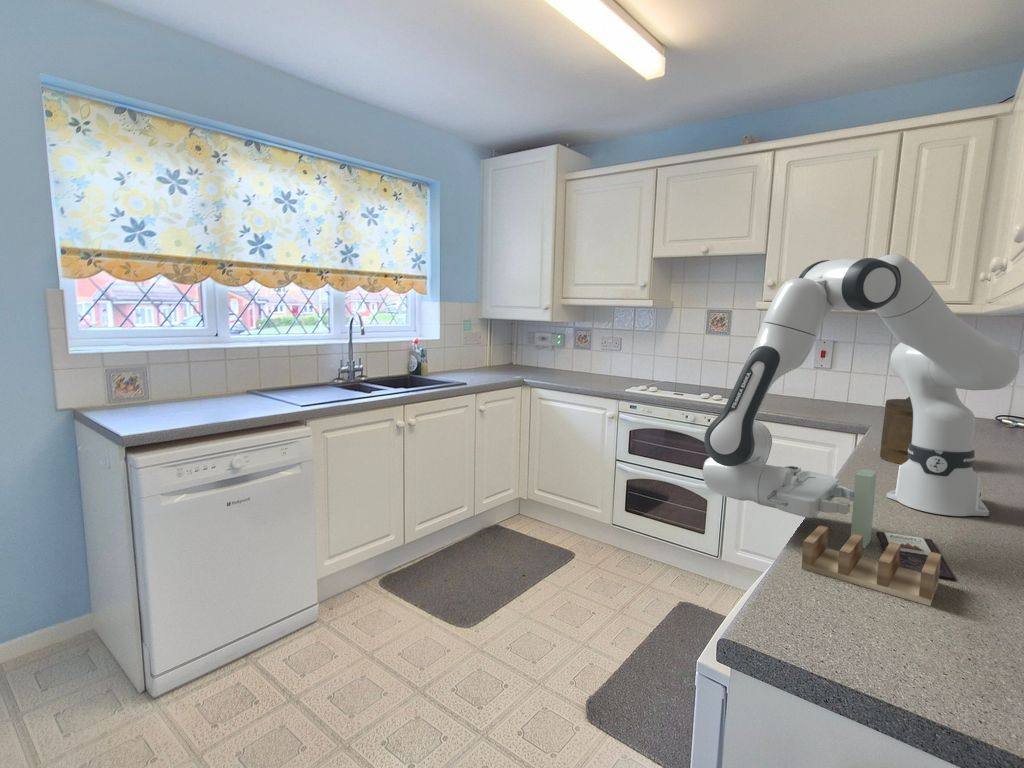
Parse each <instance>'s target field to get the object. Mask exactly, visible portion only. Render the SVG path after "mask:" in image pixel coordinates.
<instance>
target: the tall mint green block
mask: <svg viewBox="0 0 1024 768" xmlns="http://www.w3.org/2000/svg"><path fill="white" fill-rule="evenodd" d="M877 474H878V473H877V470H876V471H875V470H870V469H869V470H868V469H863V468H862V469H860V470H858V472H857V473H856V474H855V479H854V490H853V491H854V501H852V502H853V504H852V513H851V514H852V515H851V516H852V517H851V518H852V519H851V527H850V528H851V530H850V537H851V536H852V534H853V533H854V534H858V535H862V536H863V543H862V547H863V548H862V549H866V548H867V547H868V545H869V544H870V542H871V541H870V540H871V539H872V530H873V529H872V528H873V518H874V505H875V495H876V493H875V492H876V485H877V484H876V481H877ZM868 543H869V544H868ZM866 546H867V547H866Z"/></svg>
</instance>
